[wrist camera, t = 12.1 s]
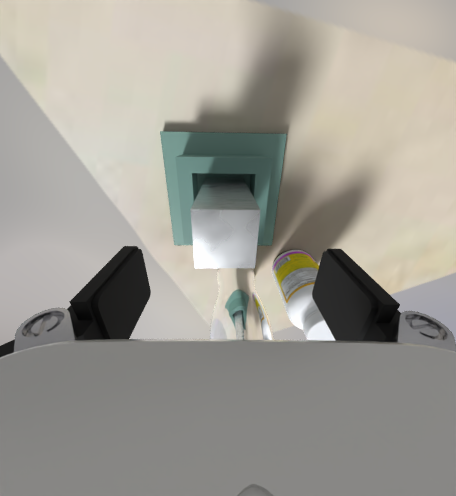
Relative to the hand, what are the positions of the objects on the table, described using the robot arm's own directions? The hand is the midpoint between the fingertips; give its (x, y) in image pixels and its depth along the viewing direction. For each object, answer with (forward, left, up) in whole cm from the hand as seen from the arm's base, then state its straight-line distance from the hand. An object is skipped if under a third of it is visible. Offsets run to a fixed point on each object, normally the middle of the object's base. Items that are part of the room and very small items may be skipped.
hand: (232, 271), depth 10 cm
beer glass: (-2, +13, -18) cm, 22 cm away
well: (0, 0, -18) cm, 18 cm away
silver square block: (0, 0, -17) cm, 17 cm away
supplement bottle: (-11, +11, -18) cm, 24 cm away
